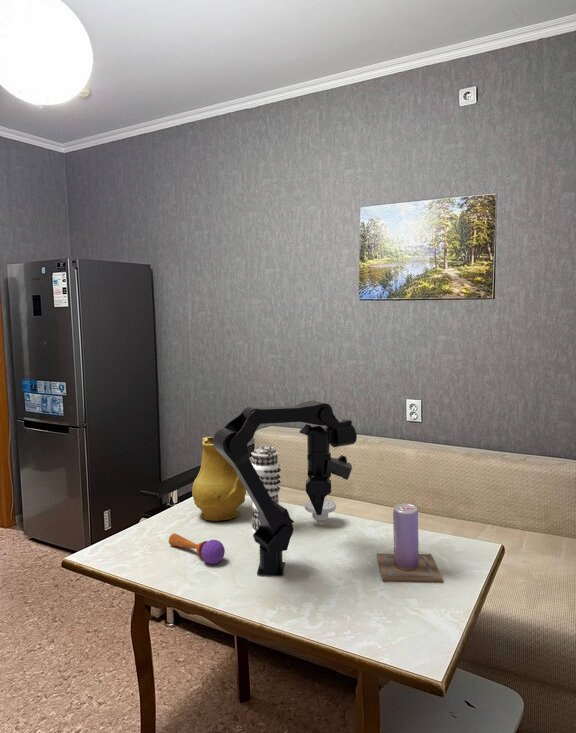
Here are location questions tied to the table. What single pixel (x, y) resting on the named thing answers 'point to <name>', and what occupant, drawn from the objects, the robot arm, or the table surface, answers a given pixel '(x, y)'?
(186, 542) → the purple ball maraca
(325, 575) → the table surface
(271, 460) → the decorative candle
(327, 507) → the showerhead
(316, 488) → the robot arm
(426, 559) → the plate
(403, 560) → the beverage can
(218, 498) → the pitcher
